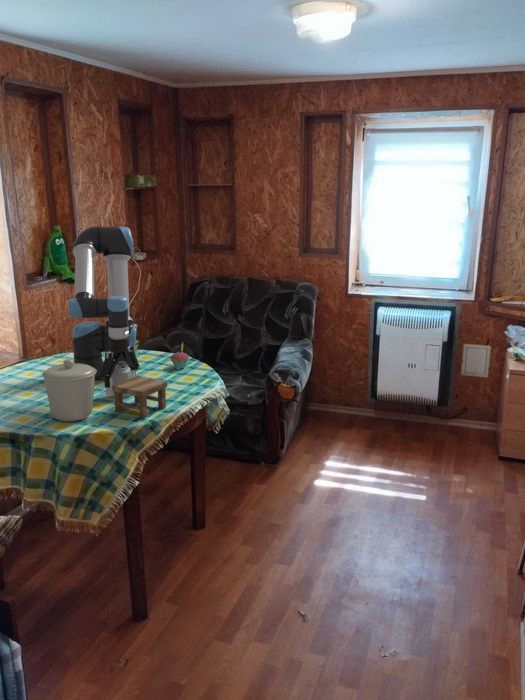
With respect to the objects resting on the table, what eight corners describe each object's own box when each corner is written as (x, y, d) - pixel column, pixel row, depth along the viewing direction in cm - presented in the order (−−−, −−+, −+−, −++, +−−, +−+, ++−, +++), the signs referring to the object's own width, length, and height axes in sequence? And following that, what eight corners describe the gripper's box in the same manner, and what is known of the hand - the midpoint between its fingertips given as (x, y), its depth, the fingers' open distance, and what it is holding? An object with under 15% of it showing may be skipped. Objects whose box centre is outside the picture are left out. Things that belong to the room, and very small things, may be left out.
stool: (113, 411, 210) (112, 385, 208) (137, 400, 222) (137, 375, 220) (144, 419, 204) (143, 392, 202) (167, 407, 216) (167, 381, 214)
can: (134, 394, 229) (133, 365, 226) (124, 400, 222) (123, 370, 219) (118, 391, 232) (117, 362, 229) (107, 397, 225) (106, 367, 222)
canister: (38, 426, 195) (33, 366, 190) (53, 407, 213) (49, 352, 208) (92, 426, 196) (89, 366, 191) (103, 407, 214) (101, 352, 209)
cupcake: (179, 364, 272) (179, 339, 269) (193, 367, 267) (193, 342, 264) (166, 367, 265) (166, 342, 262) (180, 371, 261) (179, 345, 258)
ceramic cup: (127, 366, 266) (126, 345, 264) (111, 362, 272) (111, 341, 269) (147, 360, 277) (146, 339, 274) (132, 356, 282) (131, 336, 280)
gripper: (104, 345, 209) (106, 400, 214) (147, 332, 230) (148, 383, 235) (88, 342, 212) (91, 397, 217) (132, 330, 233) (134, 380, 239)
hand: (121, 390), depth 226 cm, fingers open, 13 cm apart
